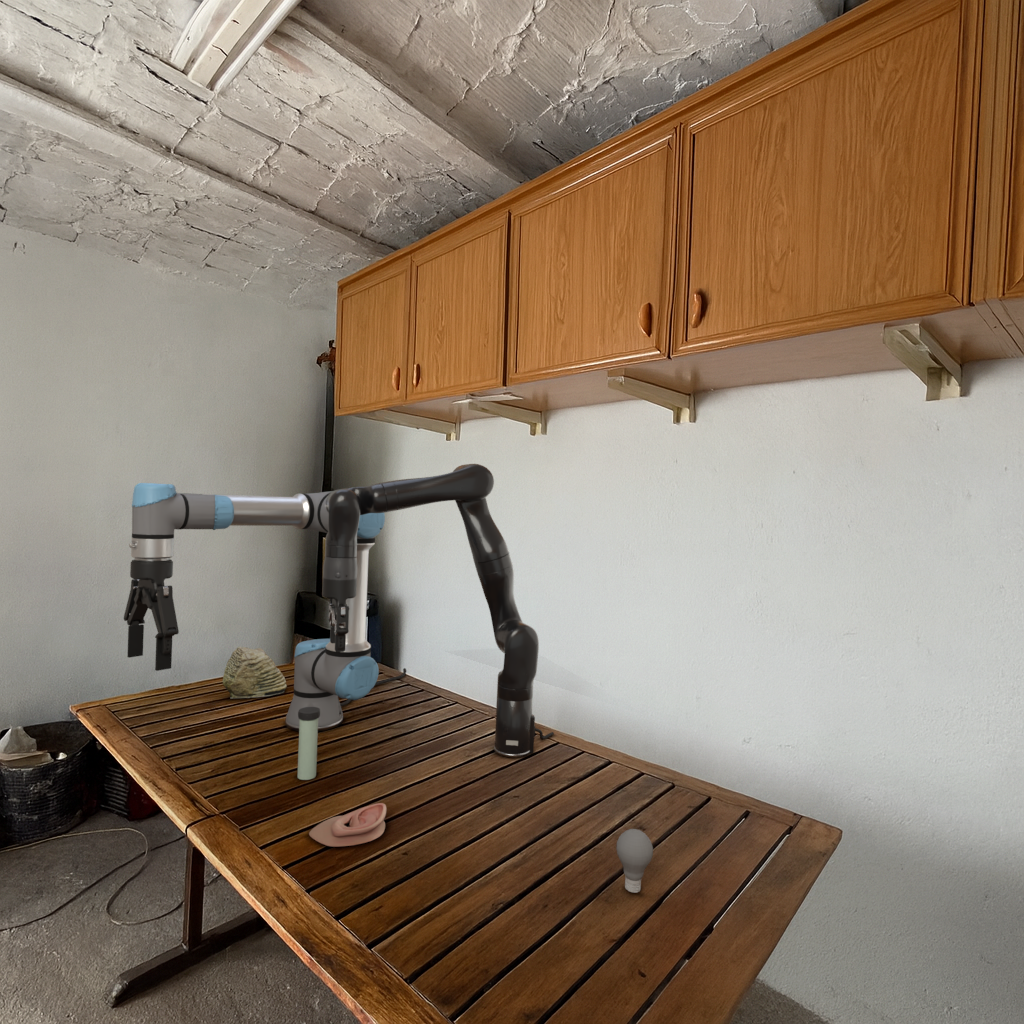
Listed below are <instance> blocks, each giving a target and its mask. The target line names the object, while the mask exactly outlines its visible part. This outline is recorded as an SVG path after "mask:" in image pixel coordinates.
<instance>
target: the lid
mask: <svg viewBox="0 0 1024 1024" xmlns="http://www.w3.org/2000/svg"><path fill="white" fill-rule="evenodd" d="M319 717H320V709H319V708H317V707H304V708H301V709H299V712H298V718H299V719H301V720H315V719H317V718H319Z"/></svg>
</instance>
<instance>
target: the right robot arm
mask: <svg viewBox="0 0 1024 1024" xmlns="http://www.w3.org/2000/svg"><path fill="white" fill-rule="evenodd" d="M494 486H495V479H494V475H493V473H492V472H491V471H490V469H488V468H487V467H486V466H485V465H482V464H479V463H468V464H461V465H458V466H457V467H455V468H454V470H453V471H452V472H447V473H444V474H439V475H433V476H425V477H415V478H414V477H413V478H406V479H405V478H403V479H395V480H389V481H383V482H377V483H373V484H369V485H365V486H364V485H363V486H362V485H361V486H353V487H344V488H337V489H334V490H332V491H333V492H331V493H330V494H329V495H328V497H327V499H326V502H325V506H326V510H327V512H328V513H329V521H328V533H326V535H325V545H324V561H323V565H322V566H323V567H322V586H321V587H322V589H321V590H322V592H321V596H322V597H323V598H324V599H329V604H328V623H329V627H330V632H329V633H330V634H329V639H330V642H331V643H335V651H336V652H344V651H345V644H346V635H347V633H348V632H349V630H348V622H349V606H347V604H346V599H348V598H354V597H355V596H356V589H357V557H356V556H357V531H358V526H359V519H360V515H364V514H369V513H384V514H386V513H391V512H395V511H401V510H405V509H411V508H415V507H419V506H424V505H429V504H433V503H441V502H449V501H454V502H455V503H456V506H457V508H458V511H459V513H460V516H461V517H462V518H461V519H462V521H463V524H464V528H465V533H466V537H467V540H468V541H467V542H468V545H469V548H470V551H471V552H470V553H471V555H472V559H473V563H474V565H475V566H474V567H475V570H476V573H477V577H478V579H479V582H480V585H481V588H482V592H483V595H484V598H485V601H486V602H487V606H488V610H489V615H490V618H491V625H492V630H493V631H492V632H493V637H494V640H495V644H496V647H497V648H498V650H499V651H500V652H502V653H503V654H504V656H503V657H504V658H503V668H502V670H500V671H499V672H498V674H497V681H496V682H497V683H496V685H497V686H496V707H495V728H494V729H495V730H494V732H495V733H494V745H493V751H494V752H495V753H496V754H497V755H499V756H501V757H505V758H512V759H514V758H515V759H517V758H524V757H526V756H528V755H531V754H534V748H535V747H534V746H535V738H536V733H539V739H541V740H546V739H548V738H550V737H552V736H554V735H555V732H553V731H551V732H549V733H547V734H545V735H543V734H544V733H543V731H542V729H539V728H537V727H536V725H535V723H536V716H535V715H534V714H533V701H534V699H533V697H534V696H533V695H534V680H535V678H536V676H537V672H538V664H539V663H538V661H539V651H540V642H539V641H540V639H539V635H538V633H537V631H536V630H535V628H533V627H532V626H530V625H529V624H526V623H525V622H524V621H523V619H522V618H521V617H522V616H521V614H520V612H519V608H518V606H517V603H516V599H515V569H514V564H513V561H512V556H511V554H510V550H509V547H508V545H507V542H506V540H505V538H504V536H503V535H502V533H501V531H500V529H499V527H498V526H497V525H496V523H495V521H494V519H493V517H492V514H491V513H490V512H491V511H490V509H489V506H488V502H487V501H488V500H487V497H489V496H490V494H491V493H492V491H493V489H494ZM339 626H343V627H344V628H341V627H339Z"/></svg>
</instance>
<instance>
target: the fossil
mask: <svg viewBox="0 0 1024 1024" xmlns="http://www.w3.org/2000/svg"><path fill="white" fill-rule="evenodd" d="M222 676H223V677H222V685H223V687H224V688H225V690H226V691H228V693H229V698H230V699H250V698H264V697H271V696H275V695H281V694H284V693H285V691H286V689H287V687H288V686H287V680H286V678H285V676H284V674H283V673H282V672H281V669H279V668H278V667H277V665H276V663H275V662H274V660H273V659H272V658H271V657H270V656H269V655H268V654H267V653H266V652H265V650H264V649H263V648H260V647H258V648H251V647H247V646H246V647H245V646H238V647H237V648H236V649H235V650H233V651H232V653H231V656H230V657H229V659H228V660H227V663H226V666H225V668H224V671H223V675H222Z"/></svg>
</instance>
